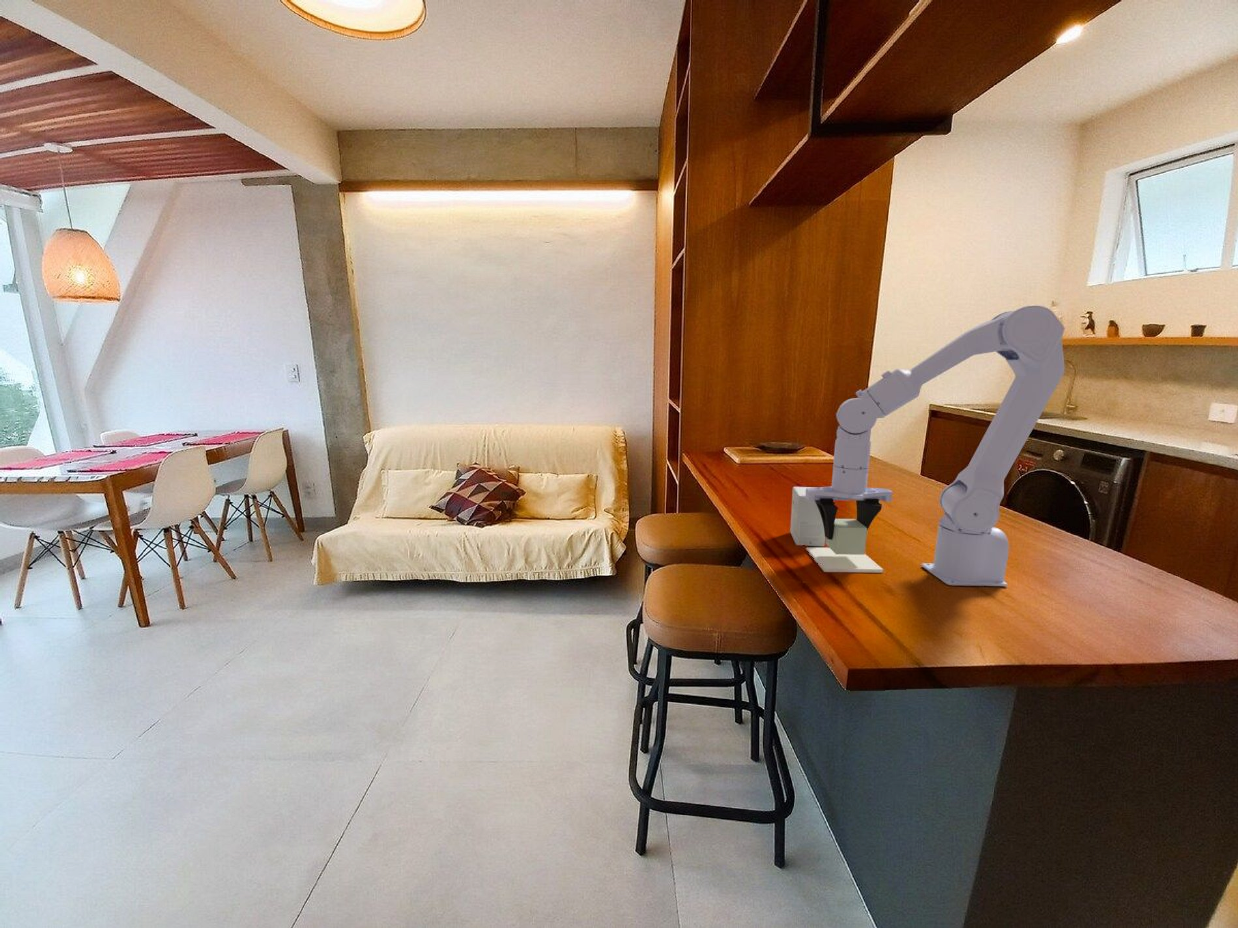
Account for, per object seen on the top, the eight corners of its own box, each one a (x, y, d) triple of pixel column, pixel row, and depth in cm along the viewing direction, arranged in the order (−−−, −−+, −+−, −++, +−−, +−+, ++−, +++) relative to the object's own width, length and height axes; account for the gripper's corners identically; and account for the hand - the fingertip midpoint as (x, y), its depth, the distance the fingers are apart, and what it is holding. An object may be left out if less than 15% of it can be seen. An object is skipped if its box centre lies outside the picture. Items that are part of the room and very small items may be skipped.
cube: (852, 544, 89) (855, 518, 88) (864, 554, 84) (867, 528, 83) (825, 543, 90) (827, 518, 88) (835, 554, 85) (838, 527, 84)
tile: (858, 550, 93) (858, 547, 93) (882, 572, 83) (883, 569, 83) (806, 550, 93) (806, 547, 93) (824, 571, 84) (824, 568, 83)
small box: (824, 547, 95) (829, 497, 92) (795, 545, 96) (798, 495, 94) (816, 533, 102) (820, 487, 100) (789, 532, 103) (792, 486, 101)
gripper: (817, 470, 81) (811, 545, 84) (904, 471, 80) (895, 546, 83) (803, 462, 88) (798, 531, 91) (884, 462, 87) (876, 532, 90)
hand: (844, 537), depth 87 cm, fingers closed on cube, 5 cm apart
